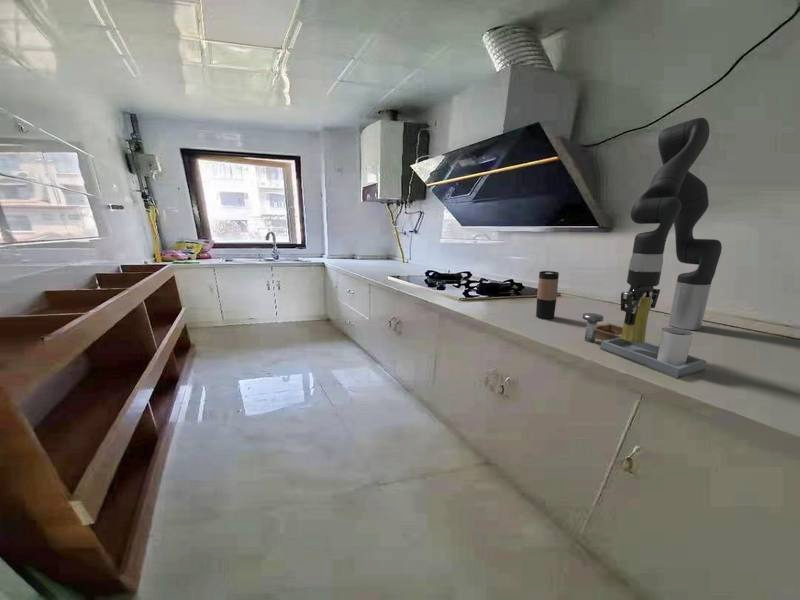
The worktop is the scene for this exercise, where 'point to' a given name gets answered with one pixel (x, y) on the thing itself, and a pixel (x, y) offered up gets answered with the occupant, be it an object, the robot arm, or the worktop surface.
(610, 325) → the holder
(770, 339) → the worktop surface
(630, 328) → the vase
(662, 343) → the white cup
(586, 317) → the knob post
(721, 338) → the worktop surface
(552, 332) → the worktop surface
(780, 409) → the worktop surface
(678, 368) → the tray
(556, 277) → the travel mug
